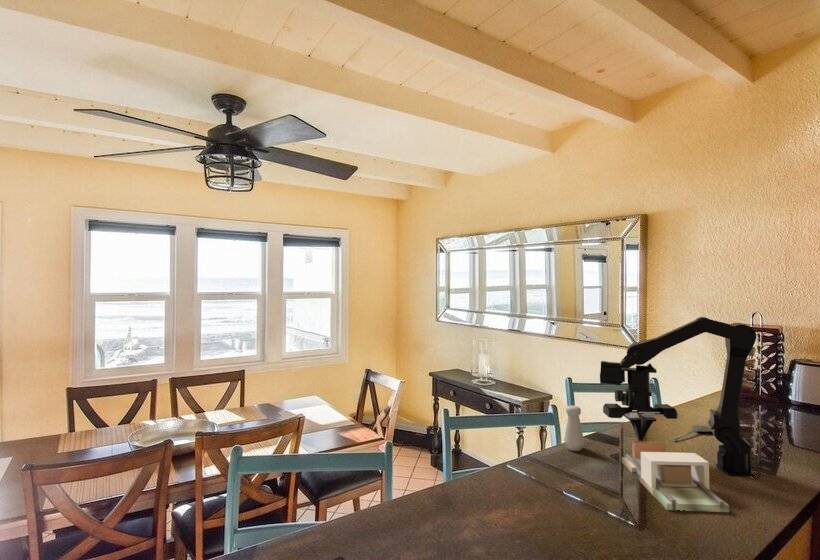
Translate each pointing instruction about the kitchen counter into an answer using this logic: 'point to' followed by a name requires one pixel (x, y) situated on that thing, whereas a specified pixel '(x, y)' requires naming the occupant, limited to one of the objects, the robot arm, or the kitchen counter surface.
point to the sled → (664, 466)
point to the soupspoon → (696, 429)
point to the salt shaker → (573, 429)
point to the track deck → (680, 493)
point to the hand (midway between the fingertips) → (640, 440)
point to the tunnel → (672, 458)
